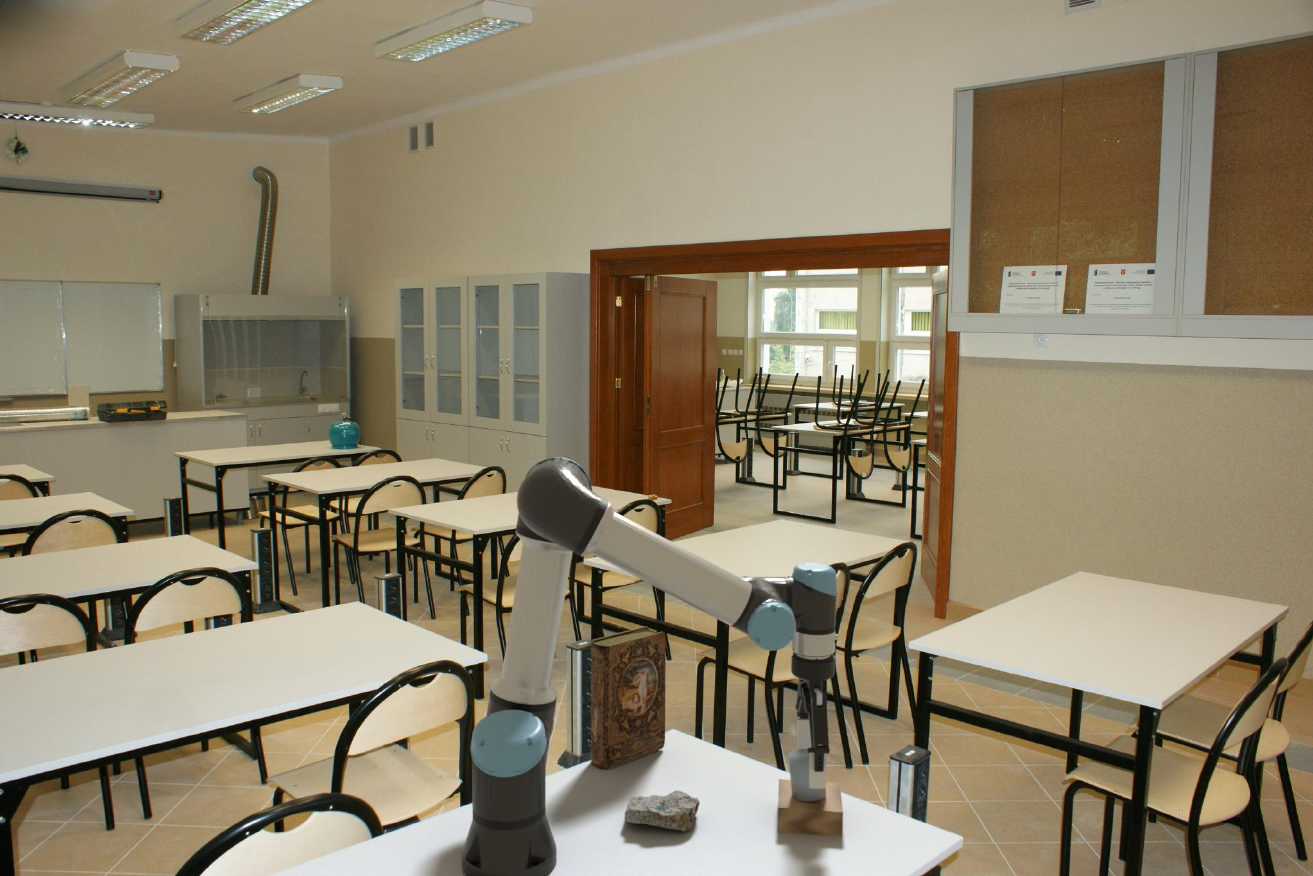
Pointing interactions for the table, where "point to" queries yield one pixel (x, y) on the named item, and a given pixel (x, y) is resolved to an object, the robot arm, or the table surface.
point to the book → (627, 696)
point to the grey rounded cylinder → (802, 777)
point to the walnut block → (810, 812)
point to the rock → (663, 810)
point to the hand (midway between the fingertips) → (810, 770)
